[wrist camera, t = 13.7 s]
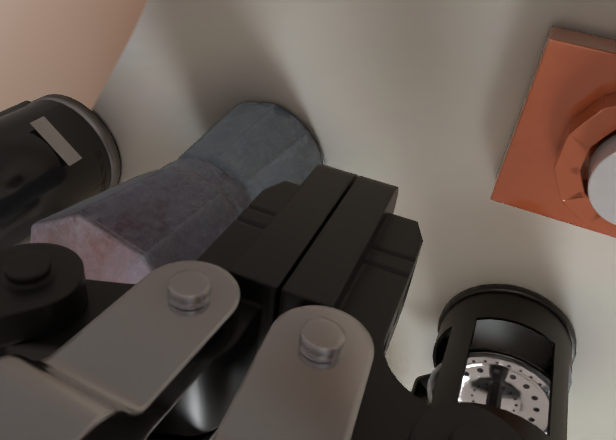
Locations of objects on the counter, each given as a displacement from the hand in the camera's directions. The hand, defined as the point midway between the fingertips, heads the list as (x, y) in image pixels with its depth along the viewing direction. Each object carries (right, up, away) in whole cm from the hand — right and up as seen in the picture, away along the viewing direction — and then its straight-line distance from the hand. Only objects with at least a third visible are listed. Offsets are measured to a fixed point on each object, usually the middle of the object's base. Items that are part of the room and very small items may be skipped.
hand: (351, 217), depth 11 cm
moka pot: (-3, +5, +30) cm, 31 cm away
